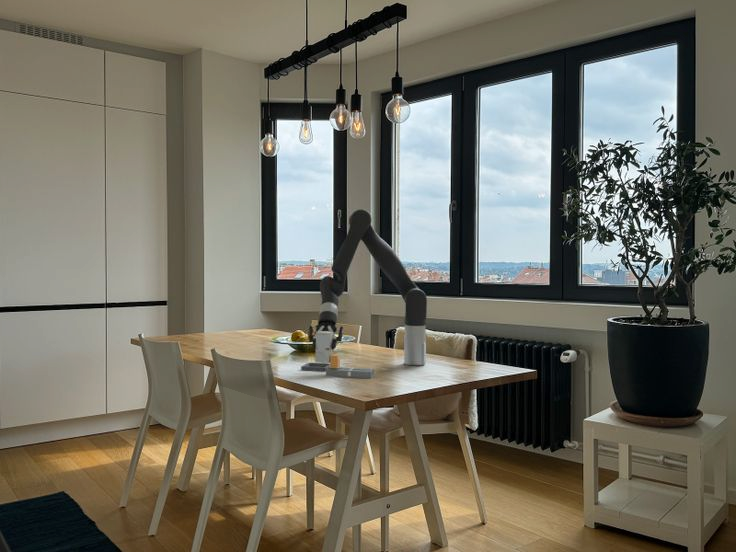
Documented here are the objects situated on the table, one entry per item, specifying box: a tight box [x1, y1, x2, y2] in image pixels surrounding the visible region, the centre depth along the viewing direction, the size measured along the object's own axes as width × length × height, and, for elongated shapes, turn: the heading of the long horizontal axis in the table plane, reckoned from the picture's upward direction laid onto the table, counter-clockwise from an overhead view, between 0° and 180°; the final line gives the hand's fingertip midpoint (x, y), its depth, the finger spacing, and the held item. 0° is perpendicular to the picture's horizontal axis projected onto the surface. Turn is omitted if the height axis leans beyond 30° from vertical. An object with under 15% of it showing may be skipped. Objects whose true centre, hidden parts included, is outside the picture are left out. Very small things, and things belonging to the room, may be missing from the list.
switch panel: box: [325, 366, 375, 379], centre depth 257 cm, size 18×7×3 cm, turn 78°
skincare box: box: [314, 331, 334, 363], centre depth 259 cm, size 6×4×12 cm
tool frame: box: [300, 362, 330, 372], centre depth 272 cm, size 11×11×2 cm
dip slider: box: [330, 353, 341, 369], centre depth 258 cm, size 3×4×5 cm
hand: (323, 348), depth 257 cm, fingers closed on skincare box, 6 cm apart
